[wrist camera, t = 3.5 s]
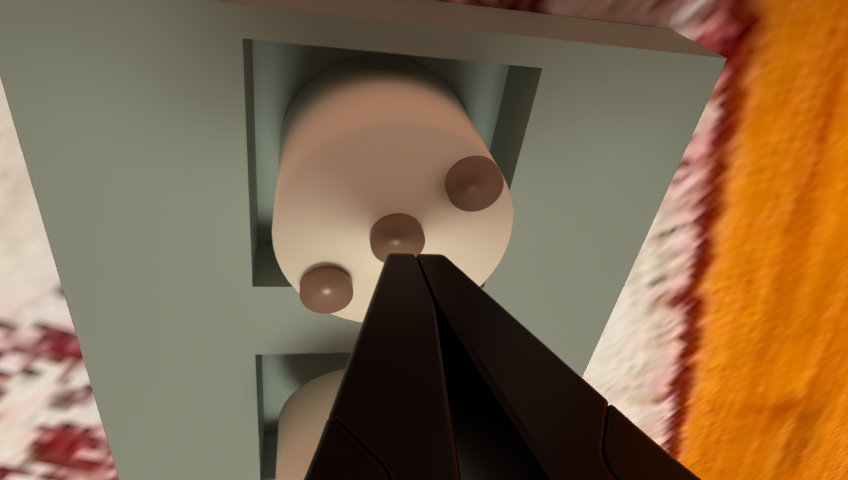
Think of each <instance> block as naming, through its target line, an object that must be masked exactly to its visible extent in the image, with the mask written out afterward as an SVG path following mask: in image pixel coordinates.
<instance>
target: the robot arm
mask: <svg viewBox="0 0 848 480" xmlns="http://www.w3.org/2000/svg"><path fill="white" fill-rule="evenodd" d="M304 480H701V479H700V478H698V477H697V476H696V475H695V474H693V473H692V472H691V471H690V470H688V469H687V468H686V467H685V466H683V465H682V464H681V463H680V462H678V461H677V460H676V459H675V458H673V457H672V456H671V455H670V454H668V453H667V452H666V451H665V450H664V449H663V448H661V447H660V446H659V445H658V444H657V443H656V442H654V441H653V440H652V439H651V438H650V437H649V436H647V435H646V434H645V433H644V432H643V431H642V430H640V429H639V428H638V427H637V426H636V425H635V424H633V423H632V422H631V421H630V420H629V419H628V418H627V417H626V416H624V415H623V414H622V413H621V412H620V411H619V410H618V409H617V408H616V407H614V406H613V405H609V406H608V401H607V400H606V399H605V398H604V397H603V396H602V395H601V394H600V393H598V392H597V391H596V390H595V389H594V388H593V387H592V386H591V385H589V384H588V383H587V382H586V381H585V380H584V379H583V378H582V377H580V376H579V375H578V374H577V373H576V372H575V371H574V370H573V369H571V368H570V367H569V366H568V365H567V364H566V363H565V362H564V361H563V360H561V359H560V358H559V357H558V356H557V355H556V354H555V353H554V352H552V351H551V350H550V349H549V348H548V347H547V346H546V345H545V344H543V343H542V342H541V341H540V340H539V339H538V338H537V337H536V336H534V335H533V334H532V333H531V332H530V331H529V330H528V329H527V328H526V327H524V326H523V325H522V324H521V323H520V322H519V321H518V320H517V319H515V318H514V317H513V316H512V315H511V314H510V313H509V312H508V311H506V310H505V309H504V308H503V307H502V306H501V305H500V304H499V303H497V302H496V301H495V300H494V299H493V298H492V297H491V296H490V295H489V294H487V293H486V292H485V291H484V290H483V289H482V288H481V287H480V286H478V285H477V284H476V283H475V282H474V281H473V280H472V279H471V278H469V277H468V276H467V275H466V274H465V273H464V272H463V271H462V270H461V269H459V268H458V267H457V266H456V265H455V264H454V263H453V262H452V261H450V260H449V259H448V258H447V257H446V256H444V255H442V254H418V255H417V256H415V255H413V254H405V253H390V254H388V255H387V257H386V259H385V262H384V265H383V267H382V270H381V273H380V276H379V278H378V281H377V284H376V287H375V290H374V292H373V295H372V298H371V301H370V303H369V306H368V309H367V312H366V314H365V317H364V320H363V323H362V325H361V328H360V331H359V334H358V336H357V339H356V342H355V345H354V347H353V350H352V353H351V356H350V358H349V361H348V364H347V367H346V369H345V372H344V375H343V378H342V380H341V383H340V386H339V389H338V391H337V394H336V397H335V400H334V402H333V405H332V408H331V411H330V414H329V419H328V420H327V421H326V423H325V426H324V429H323V432H322V434H321V437H320V440H319V443H318V445H317V448H316V450H315V453H314V455H313V458H312V460H311V463H310V465H309V468H308V470H307V472H306V475H305V477H304Z"/></svg>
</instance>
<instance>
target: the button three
mask: <svg viewBox="0 0 848 480" xmlns="http://www.w3.org/2000/svg"><path fill="white" fill-rule="evenodd" d="M512 226H513V207H512V199H511V195H510V192H509V188H508V186H507V183H506V181H505V179H504V177H503V175H502V173H501V171H500V170H499V168H498V166H497V164H496V163H495V161H494V159H493V158H492V156H491V154H490V152H489V151H488V149H487V147H486V146H485V144H484V142H483V140H482V139H481V137H480V135H479V133H478V132H477V130H476V128H475V127H474V125H473V123H472V121H471V120H470V118H469V116H468V114H467V113H466V111H465V109H464V108H463V106H462V104H461V102H460V101H459V99H458V98H457V96H456V95H455V93H454V91H453V90H452V89H451V88H450V87H449V86H448V84H447V83H446V82H445V81H444V80H442V79H441V78H440V77H439V76H438V75H437V74H435V73H434V72H432V71H431V70H429V69H428V68H426V67H424V66H422V65H420V64H418V63H415V62H413V61H410V60H407V59H403V58H399V57H393V56H384V55H371V56H361V57H357V58H352V59H348V60H345V61H343V62H340V63H337V64H335V65H333V66H331V67H329V68H327V69H326V70H324V71H322V72H321V73H319V74H318V75H317V76H315V77H314V78H313V79H311V80H310V81H309V82H308V83H307V84H306V85H305V86H304V87H303V88H302V90H301V91H300V92H299V93H298V95H297V96H296V97H295V99H294V100H293V102H292V104H291V106H290V108H289V109H288V112H287V115H286V117H285V120H284V123H283V128H282V132H281V142H280V152H279V162H278V172H277V182H276V191H275V201H274V211H273V222H272V241H273V248H274V252H275V256H276V259H277V262H278V264H279V266H280V268H281V271H282V272H283V274H284V275H285V277H286V278H287V280H288V281H289V283H290V284H291V285H292V286H293V287H294V288H295V290H296V291H297V292H298V293H299V294H300V300H301V302H302V304H303V305H304V306H305V307H306V308H307V309H309V310H311V311H313V312H316V313H321V314H333V315H336V316H338V317H341V318H344V319H348V320H352V321H356V322H363V320H364V317H365V314H366V312H367V309H368V306H369V303H370V301H371V298H372V295H373V292H374V290H375V287H376V284H377V281H378V278H379V276H380V273H381V270H382V267H383V265H384V262H385V259H386V257H387V255H388V254H390V253H405V254H413V255H415V256H417V255H418V254H442V255H444V256H446V257H447V258H448V259H449V260H450V261H452V262H453V263H454V264H455V265H456V266H457V267H458V268H459V269H461V270H462V271H463V272H464V273H465V274H466V275H467V276H468V277H469V278H471V279H472V280H473V281H474V282H475V283H476V284H477V285H478V286H481V285H482V284H483V283H484V282H485V281H486V280H487V278H488V277H489V276H490V275H491V274H492V273H493V271H494V270H495V268H496V267H497V265H498V264H499V262H500V261H501V259H502V257H503V255H504V253H505V251H506V248H507V245H508V243H509V240H510V236H511V231H512Z"/></svg>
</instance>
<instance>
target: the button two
mask: <svg viewBox="0 0 848 480" xmlns="http://www.w3.org/2000/svg"><path fill="white" fill-rule="evenodd" d="M344 372H345V369H341V370H337V371H333V372H330V373H327V374H324V375H321V376H319V377H317V378H315V379H313V380H311V381H309V382H307V383H306V384H304V385H303V386H301V387H300V388H299V389H297V390H296V391H295V392H294V393H293V394H292V395H291V396H290V397H289V398H288V400H287V401H286V402H285V404H284V406H283V407H282V409H281V412H280V416H279V424H278V442H277V460H276V478H275V480H304V477H305V475H306V472H307V470H308V468H309V465H310V463H311V460H312V458H313V455H314V453H315V450H316V448H317V445H318V443H319V440H320V437H321V434H322V432H323V429H324V426H325V423H326V421H327V420H328V419H329V414H330V411H331V408H332V405H333V402H334V400H335V397H336V394H337V391H338V389H339V386H340V383H341V380H342V378H343V375H344Z"/></svg>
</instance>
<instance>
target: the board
mask: <svg viewBox="0 0 848 480" xmlns="http://www.w3.org/2000/svg"><path fill="white" fill-rule="evenodd" d="M371 55H384V56H393V57H399V58H403V59H407V60H410V61H413V62H415V63H418V64H420V65H422V66H424V67H426V68H428V69H429V70H431V71H432V72H434V73H435V74H437V75H438V76H439V77H440V78H441V79H442V80H444V81H445V82H446V83H447V84H448V86H449V87H450V88H451V89H452V90H453V91H454V93H455V95H456V96H457V98H458V99H459V101H460V102H461V104H462V106H463V108H464V109H465V111H466V113H467V114H468V116H469V118H470V120H471V121H472V123H473V125H474V127H475V128H476V130H477V132H478V133H479V135H480V137H481V139H482V140H483V142H484V144H485V146H486V147H487V149H488V151H489V152H490V154H491V156H492V158H493V159H494V161H495V163H496V164H497V166H498V168H499V170H500V171H501V173H502V175H503V177H504V179H505V181H506V183H507V186H508V188H509V192H510V195H511V199H512V207H513V226H512V231H511V236H510V240H509V243H508V245H507V248H506V251H505V253H504V255H503V257H502V259H501V261H500V262H499V264H498V265H497V267H496V268H495V270H494V271H493V273H492V274H491V275H490V276H489V277H488V278H487V280H486V281H485V282H484V283H483V284H482V285H481V286H480V287H481V288H482V289H483V290H484V291H485V292H486V293H487V294H489V295H490V296H491V297H492V298H493V299H494V300H495V301H496V302H497V303H499V304H500V305H501V306H502V307H503V308H504V309H505V310H506V311H508V312H509V313H510V314H511V315H512V316H513V317H514V318H515V319H517V320H518V321H519V322H520V323H521V324H522V325H523V326H524V327H526V328H527V329H528V330H529V331H530V332H531V333H532V334H533V335H534V336H536V337H537V338H538V339H539V340H540V341H541V342H542V343H543V344H545V345H546V346H547V347H548V348H549V349H550V350H551V351H552V352H554V353H555V354H556V355H557V356H558V357H559V358H560V359H561V360H563V361H564V362H565V363H566V364H567V365H568V366H569V367H570V368H571V369H573V370H574V371H575V372H576V373H577V374H578V375H579V376H580V377H583V374H584V372H585V370H586V368H587V366H588V363H589V361H590V359H591V357H592V355H593V352H594V350H595V348H596V346H597V344H598V341H599V339H600V337H601V335H602V333H603V330H604V328H605V326H606V324H607V322H608V319H609V317H610V315H611V313H612V311H613V308H614V306H615V304H616V302H617V300H618V297H619V295H620V293H621V291H622V289H623V286H624V284H625V282H626V280H627V278H628V275H629V273H630V271H631V269H632V267H633V264H634V262H635V260H636V258H637V256H638V253H639V251H640V249H641V247H642V245H643V242H644V240H645V238H646V236H647V234H648V231H649V229H650V227H651V225H652V223H653V220H654V218H655V216H656V214H657V212H658V209H659V207H660V205H661V203H662V201H663V198H664V196H665V194H666V192H667V190H668V187H669V185H670V183H671V181H672V179H673V176H674V174H675V172H676V170H677V168H678V165H679V163H680V161H681V159H682V157H683V154H684V152H685V150H686V148H687V146H688V143H689V141H690V139H691V137H692V135H693V132H694V130H695V128H696V126H697V124H698V121H699V119H700V117H701V115H702V113H703V110H704V108H705V106H706V104H707V102H708V99H709V97H710V95H711V93H712V91H713V88H714V86H715V84H716V82H717V80H718V77H719V75H720V73H721V71H722V69H723V66H724V64H725V62H726V60H727V58H725V57H723V56H721V55H719V54H717V53H715V52H713V51H711V50H709V49H708V48H706V47H704V46H702V45H700V44H698V43H696V42H694V41H692V40H690V39H688V38H686V37H684V36H682V35H680V34H678V33H676V32H675V31H673V30H671V29H665V28H657V27H649V26H640V25H632V24H624V23H616V22H608V21H600V20H591V19H583V18H575V17H567V16H559V15H550V14H542V13H534V12H526V11H518V10H509V9H501V8H493V7H485V6H477V5H468V4H460V3H452V2H444V1H436V0H0V77H1V81H2V84H3V88H4V91H5V94H6V98H7V101H8V104H9V108H10V111H11V115H12V118H13V121H14V125H15V128H16V132H17V135H18V138H19V142H20V145H21V149H22V152H23V155H24V159H25V162H26V166H27V169H28V172H29V176H30V179H31V183H32V186H33V189H34V193H35V196H36V199H37V203H38V206H39V210H40V213H41V216H42V220H43V223H44V227H45V230H46V233H47V237H48V240H49V244H50V247H51V250H52V254H53V257H54V261H55V264H56V267H57V271H58V274H59V278H60V281H61V284H62V288H63V291H64V295H65V298H66V301H67V305H68V308H69V311H70V315H71V318H72V322H73V325H74V328H75V332H76V335H77V339H78V342H79V345H80V349H81V352H82V356H83V359H84V362H85V366H86V369H87V373H88V376H89V379H90V383H91V386H92V390H93V393H94V396H95V400H96V403H97V406H98V410H99V413H100V417H101V420H102V423H103V427H104V430H105V434H106V437H107V440H108V444H109V447H110V451H111V454H112V457H113V461H114V464H115V468H116V471H117V474H118V478H119V480H275V478H276V460H277V442H278V424H279V416H280V412H281V409H282V407H283V406H284V404H285V402H286V401H287V400H288V398H289V397H290V396H291V395H292V394H293V393H294V392H295V391H296V390H297V389H299V388H300V387H301V386H303V385H304V384H306V383H307V382H309V381H311V380H313V379H315V378H317V377H319V376H321V375H324V374H327V373H330V372H333V371H337V370H341V369H346V367H347V364H348V361H349V358H350V356H351V353H352V350H353V347H354V345H355V342H356V339H357V336H358V334H359V331H360V328H361V325H362V323H363V322H356V321H352V320H348V319H344V318H341V317H338V316H336V315H333V314H321V313H316V312H313V311H311V310H309V309H307V308H306V307H305V306H304V305H303V304H302V302H301V300H300V294H299V293H298V292H297V291H296V290H295V288H294V287H293V286H292V285H291V284H290V283H289V281H288V280H287V278H286V277H285V275H284V274H283V272H282V271H281V268H280V266H279V264H278V262H277V259H276V256H275V252H274V248H273V241H272V222H273V211H274V201H275V191H276V182H277V172H278V162H279V152H280V142H281V132H282V128H283V123H284V120H285V117H286V115H287V112H288V109H289V108H290V106H291V104H292V102H293V100H294V99H295V97H296V96H297V95H298V93H299V92H300V91H301V90H302V88H303V87H304V86H305V85H306V84H307V83H308V82H309V81H310V80H311V79H313V78H314V77H315V76H317V75H318V74H319V73H321V72H322V71H324V70H326V69H327V68H329V67H331V66H333V65H335V64H337V63H340V62H343V61H345V60H348V59H352V58H357V57H361V56H371Z"/></svg>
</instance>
